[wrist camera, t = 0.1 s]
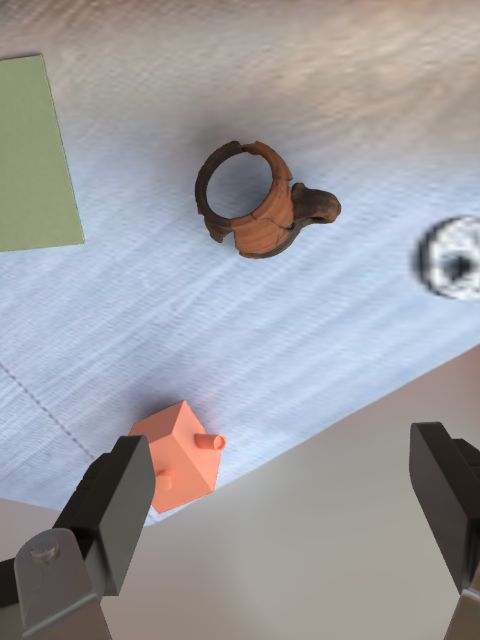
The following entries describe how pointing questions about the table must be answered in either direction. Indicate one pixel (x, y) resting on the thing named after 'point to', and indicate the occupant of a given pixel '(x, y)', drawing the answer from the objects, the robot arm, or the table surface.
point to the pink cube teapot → (180, 455)
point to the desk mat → (33, 163)
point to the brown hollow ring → (265, 206)
